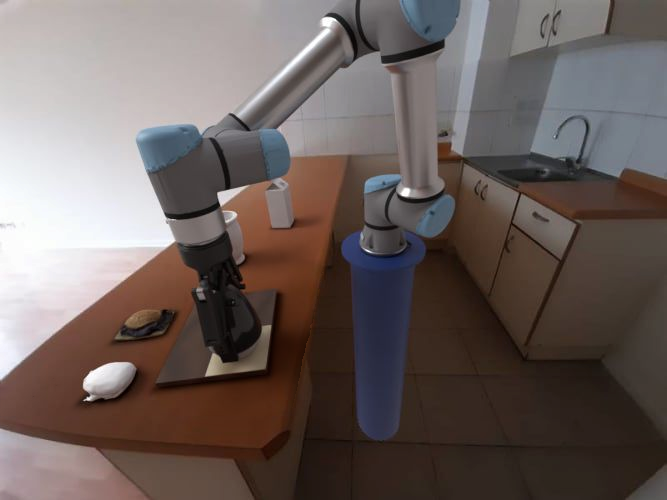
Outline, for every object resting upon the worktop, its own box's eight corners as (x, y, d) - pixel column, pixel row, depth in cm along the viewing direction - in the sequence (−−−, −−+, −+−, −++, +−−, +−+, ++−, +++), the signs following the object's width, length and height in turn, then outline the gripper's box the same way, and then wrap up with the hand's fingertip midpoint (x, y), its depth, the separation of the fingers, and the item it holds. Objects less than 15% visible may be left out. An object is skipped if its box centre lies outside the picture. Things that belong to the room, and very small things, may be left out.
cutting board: (277, 293, 72) (276, 288, 72) (267, 374, 52) (265, 368, 51) (199, 301, 71) (197, 296, 71) (157, 388, 51) (154, 382, 50)
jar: (217, 255, 92) (203, 213, 84) (249, 250, 93) (238, 208, 86) (212, 272, 83) (195, 227, 75) (247, 267, 84) (235, 222, 77)
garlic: (78, 404, 49) (66, 391, 47) (103, 370, 55) (94, 358, 53) (124, 400, 49) (114, 387, 47) (144, 367, 55) (136, 354, 53)
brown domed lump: (113, 343, 61) (105, 332, 59) (132, 316, 68) (126, 305, 66) (162, 337, 62) (156, 325, 60) (177, 311, 69) (171, 299, 67)
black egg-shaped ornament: (231, 380, 49) (205, 316, 41) (203, 351, 55) (176, 290, 47) (276, 343, 55) (261, 282, 48) (246, 320, 61) (229, 263, 54)
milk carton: (272, 228, 107) (262, 179, 97) (277, 220, 113) (268, 174, 103) (289, 228, 106) (282, 179, 96) (294, 220, 112) (287, 173, 102)
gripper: (200, 210, 52) (230, 300, 63) (139, 282, 33) (198, 395, 44) (241, 206, 53) (263, 296, 64) (204, 275, 33) (246, 388, 44)
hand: (237, 336), depth 54 cm, fingers closed on black egg-shaped ornament, 10 cm apart
